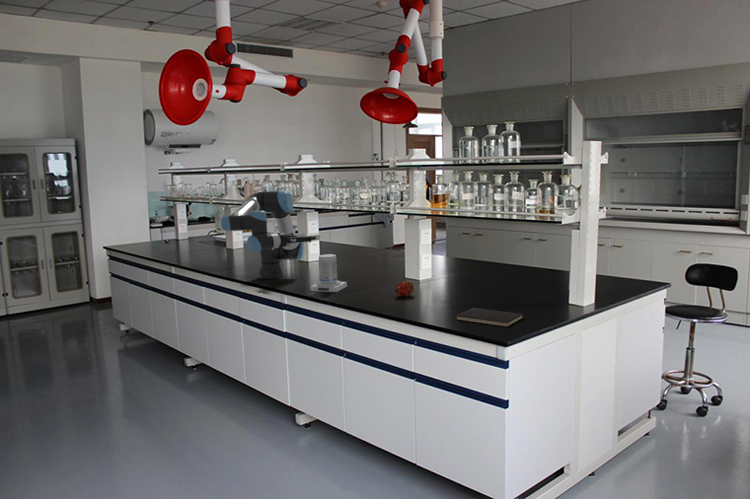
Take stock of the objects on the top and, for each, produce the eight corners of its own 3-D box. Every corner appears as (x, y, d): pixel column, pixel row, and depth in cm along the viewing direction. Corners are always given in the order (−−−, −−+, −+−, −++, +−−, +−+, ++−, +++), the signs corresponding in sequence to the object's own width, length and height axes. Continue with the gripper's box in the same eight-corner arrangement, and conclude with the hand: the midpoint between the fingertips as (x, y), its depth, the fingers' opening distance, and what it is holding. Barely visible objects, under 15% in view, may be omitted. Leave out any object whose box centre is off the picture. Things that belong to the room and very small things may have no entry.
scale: (321, 285, 330) (321, 279, 330) (346, 286, 325) (346, 280, 325) (310, 291, 316) (310, 284, 315) (336, 292, 311) (336, 285, 311)
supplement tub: (332, 279, 327) (331, 253, 325) (340, 282, 319) (339, 255, 316) (316, 281, 322) (315, 255, 320) (324, 284, 314) (322, 257, 312)
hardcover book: (507, 328, 235) (507, 322, 235) (456, 320, 249) (455, 315, 248) (523, 319, 248) (523, 313, 247) (473, 312, 261) (473, 307, 261)
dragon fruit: (415, 297, 300) (397, 304, 293) (405, 286, 304) (387, 293, 297) (420, 286, 294) (402, 293, 287) (410, 274, 299) (392, 281, 292)
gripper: (264, 245, 306) (298, 241, 320) (291, 250, 288) (326, 245, 301) (263, 231, 305) (298, 227, 319) (290, 234, 287) (325, 230, 300)
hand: (311, 236), depth 310 cm, fingers open, 13 cm apart
